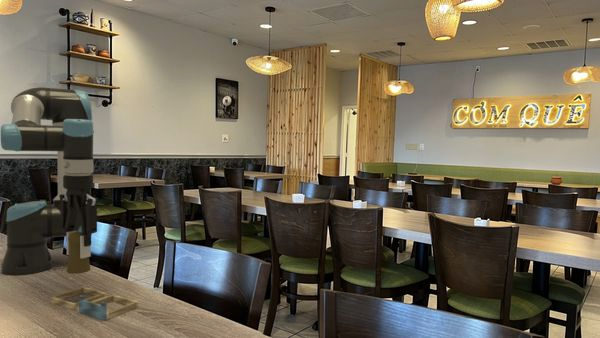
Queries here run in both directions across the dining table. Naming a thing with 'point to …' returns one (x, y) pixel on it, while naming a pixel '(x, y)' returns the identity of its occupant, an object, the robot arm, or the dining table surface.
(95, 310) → the caddy
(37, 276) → the dining table surface
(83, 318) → the dining table surface
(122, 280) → the dining table surface
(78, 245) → the cork
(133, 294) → the dining table surface
